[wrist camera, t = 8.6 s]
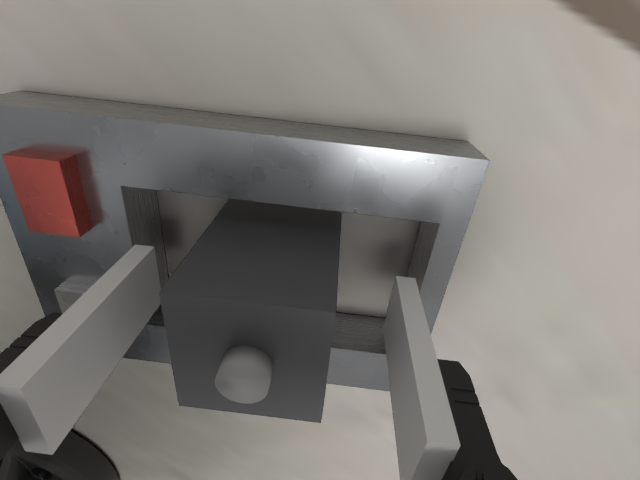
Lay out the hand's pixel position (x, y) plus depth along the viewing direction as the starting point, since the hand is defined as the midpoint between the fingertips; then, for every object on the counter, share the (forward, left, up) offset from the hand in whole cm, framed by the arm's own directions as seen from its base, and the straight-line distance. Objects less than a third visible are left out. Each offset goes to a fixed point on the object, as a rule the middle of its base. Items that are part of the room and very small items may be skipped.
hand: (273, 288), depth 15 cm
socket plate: (-2, 0, -3) cm, 4 cm away
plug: (0, 0, -3) cm, 3 cm away
